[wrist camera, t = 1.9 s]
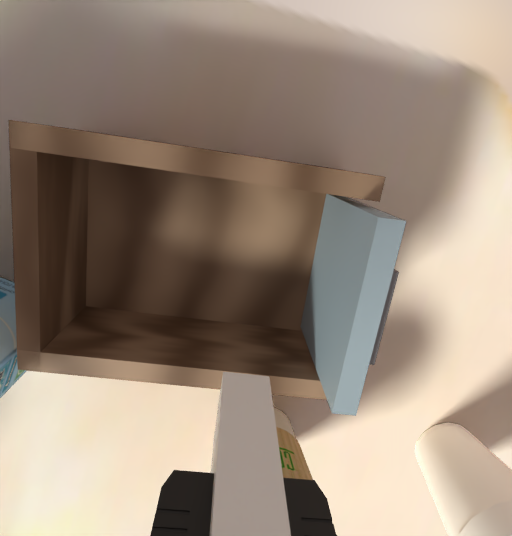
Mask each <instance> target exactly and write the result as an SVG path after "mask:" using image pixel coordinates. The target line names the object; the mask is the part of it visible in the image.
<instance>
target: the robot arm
mask: <svg viewBox="0 0 512 536" xmlns="http://www.w3.org/2000/svg"><path fill="white" fill-rule="evenodd" d="M151 536H336V533H335V529H334V525H333V524H332V517H331V513H330V509H329V505H328V501H327V498H326V497H325V495H324V494H323V492H322V491H321V489H320V488H319V486H318V485H317V483H316V482H315V480H306V479H294V478H283V473H282V466H281V459H280V451H279V444H278V437H277V429H276V422H275V415H274V407H273V400H272V393H271V386H270V378H269V376H260V375H251V374H241V373H231V372H223V376H222V383H221V391H220V398H219V405H218V412H217V420H216V427H215V434H214V442H213V453H212V465H211V473H203V472H191V471H179V470H174V471H173V472H172V474H171V475H170V476H169V478H168V479H167V481H166V482H165V483H164V485H163V486H162V488H161V492H160V496H159V501H158V505H157V510H156V514H155V518H154V523H153V527H152V531H151Z"/></svg>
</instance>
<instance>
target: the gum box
mask: <svg viewBox="0 0 512 536" xmlns="http://www.w3.org/2000/svg"><path fill="white" fill-rule="evenodd" d="M26 371H27V370H18V366H17V338H16V311H15V284H14V282H11V281H9V280H6V279H4V278H1V277H0V398H1V397H2V396H3V395H4V394H5V393H6V392H7V391H8V390H9V388H10V387H11V386H12V385H13V384H14V383H15V382H16V381H17V380H18V379H19V378H20V377H21V376H22V375H23V374H24V373H25V372H26Z"/></svg>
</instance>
